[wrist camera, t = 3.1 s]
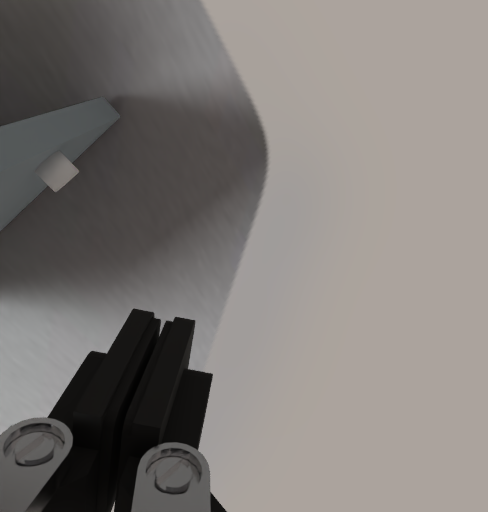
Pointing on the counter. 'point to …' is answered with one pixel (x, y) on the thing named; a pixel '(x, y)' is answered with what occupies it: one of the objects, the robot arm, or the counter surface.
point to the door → (46, 151)
